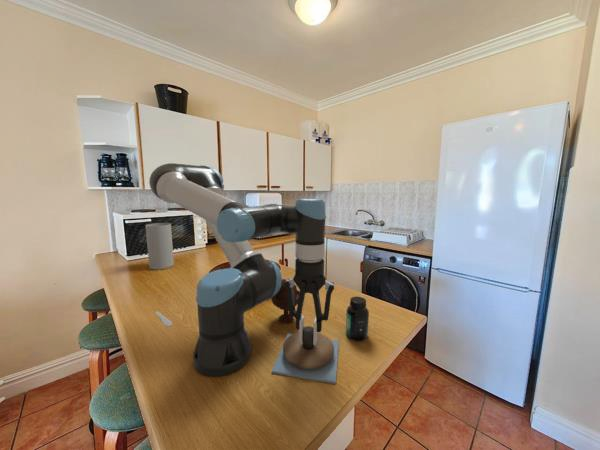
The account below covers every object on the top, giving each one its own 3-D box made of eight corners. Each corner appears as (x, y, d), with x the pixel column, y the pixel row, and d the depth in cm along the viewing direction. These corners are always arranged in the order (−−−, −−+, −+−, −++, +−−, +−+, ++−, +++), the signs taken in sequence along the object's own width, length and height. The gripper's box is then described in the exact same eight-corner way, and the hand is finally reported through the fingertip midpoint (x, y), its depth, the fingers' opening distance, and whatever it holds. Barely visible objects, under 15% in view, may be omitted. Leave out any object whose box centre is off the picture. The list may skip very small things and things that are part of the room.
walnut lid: (276, 364, 61) (276, 341, 60) (290, 332, 74) (290, 313, 73) (331, 373, 58) (332, 349, 57) (335, 338, 71) (336, 319, 70)
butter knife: (163, 327, 79) (173, 323, 81) (140, 301, 97) (148, 299, 99) (163, 329, 79) (173, 325, 81) (140, 303, 97) (149, 300, 99)
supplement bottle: (346, 340, 73) (347, 304, 71) (345, 328, 80) (346, 294, 78) (369, 343, 72) (371, 305, 70) (366, 329, 79) (367, 295, 77)
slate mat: (271, 372, 60) (271, 370, 60) (287, 335, 76) (287, 333, 76) (335, 384, 57) (335, 381, 57) (338, 342, 72) (338, 340, 72)
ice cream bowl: (298, 329, 79) (298, 286, 76) (266, 325, 81) (265, 283, 79) (304, 313, 89) (304, 274, 87) (275, 310, 91) (275, 272, 89)
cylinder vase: (154, 263, 145) (151, 223, 141) (176, 262, 147) (173, 222, 143) (145, 270, 133) (141, 226, 129) (169, 269, 135) (166, 226, 131)
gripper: (341, 256, 64) (338, 336, 68) (283, 252, 67) (283, 329, 71) (340, 265, 57) (337, 354, 60) (275, 260, 60) (276, 345, 64)
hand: (308, 340), depth 66 cm, fingers closed on walnut lid, 3 cm apart
